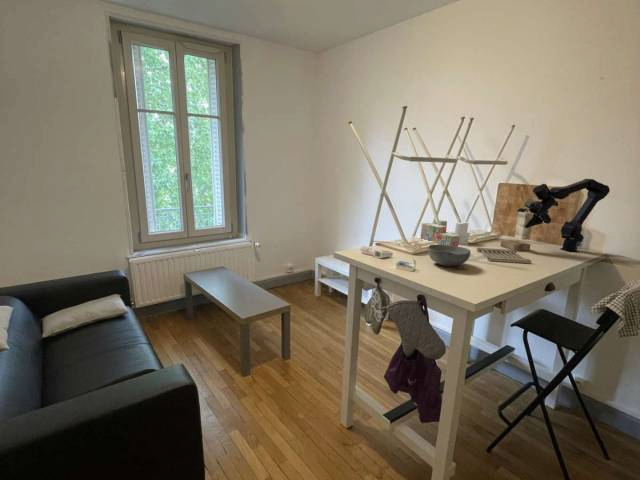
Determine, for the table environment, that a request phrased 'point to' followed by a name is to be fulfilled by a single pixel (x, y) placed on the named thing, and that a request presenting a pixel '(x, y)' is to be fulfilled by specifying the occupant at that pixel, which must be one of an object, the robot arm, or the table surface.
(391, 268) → the table surface
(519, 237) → the birch block
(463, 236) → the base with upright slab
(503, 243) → the walnut block
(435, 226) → the stack of blocks
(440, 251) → the bowl
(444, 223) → the skincare box
